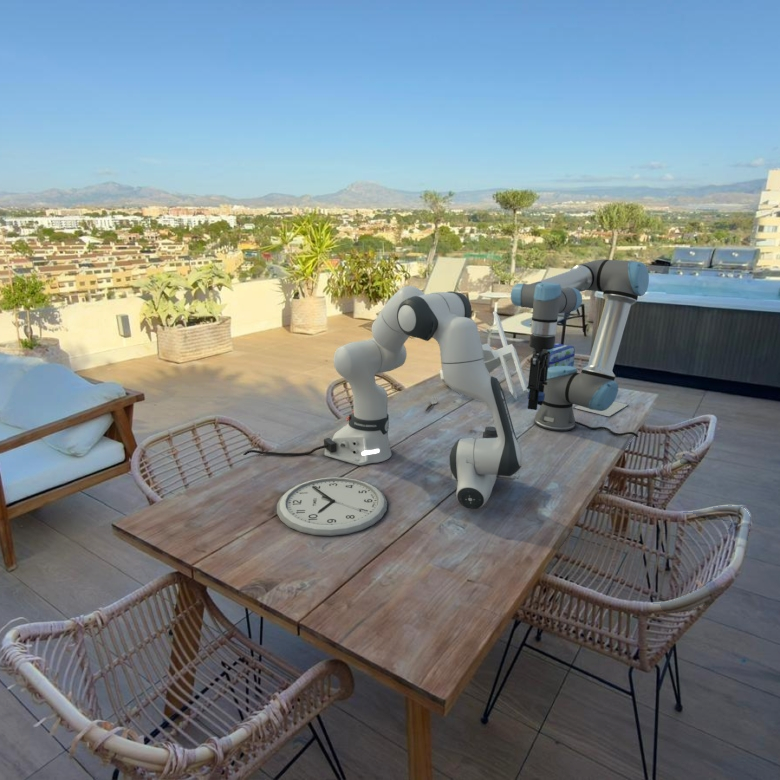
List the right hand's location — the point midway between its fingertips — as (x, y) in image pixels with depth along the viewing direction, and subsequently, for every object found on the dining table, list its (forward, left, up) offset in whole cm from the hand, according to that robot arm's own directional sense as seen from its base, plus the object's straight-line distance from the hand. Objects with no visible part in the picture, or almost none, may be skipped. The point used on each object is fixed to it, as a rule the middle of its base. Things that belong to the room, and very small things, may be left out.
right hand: (535, 406), depth 167 cm
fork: (+35, -49, -19) cm, 63 cm away
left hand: (+14, +11, -13) cm, 22 cm away
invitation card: (-39, -61, -19) cm, 75 cm away
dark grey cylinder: (+14, +12, -19) cm, 27 cm away
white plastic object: (+13, -73, -19) cm, 77 cm away
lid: (0, 0, +4) cm, 4 cm away
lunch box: (-21, -86, -19) cm, 91 cm away
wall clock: (+58, +38, -19) cm, 71 cm away
